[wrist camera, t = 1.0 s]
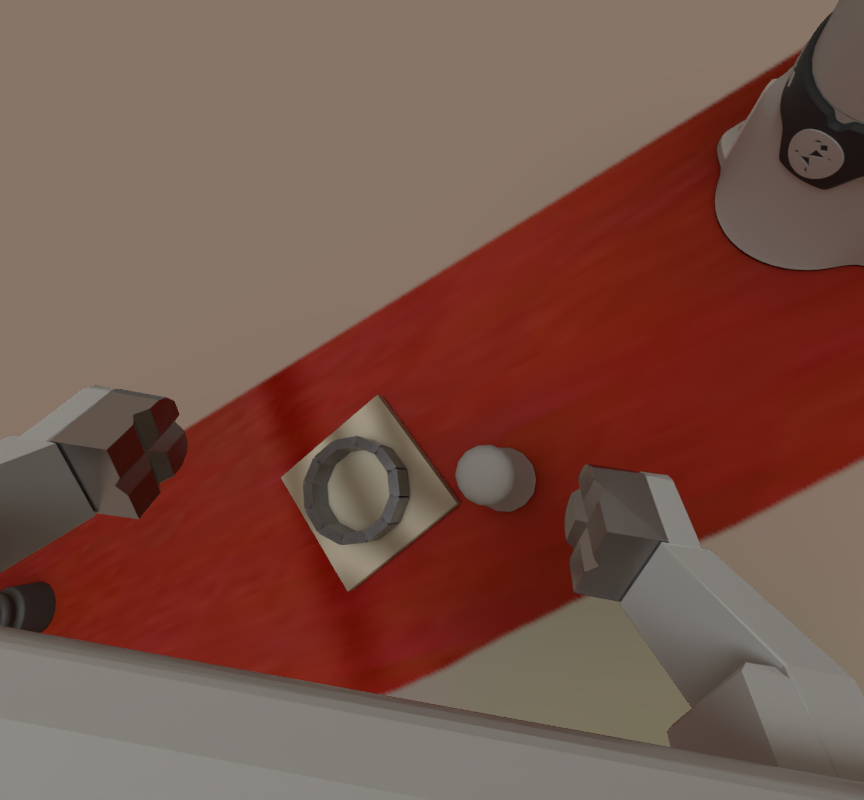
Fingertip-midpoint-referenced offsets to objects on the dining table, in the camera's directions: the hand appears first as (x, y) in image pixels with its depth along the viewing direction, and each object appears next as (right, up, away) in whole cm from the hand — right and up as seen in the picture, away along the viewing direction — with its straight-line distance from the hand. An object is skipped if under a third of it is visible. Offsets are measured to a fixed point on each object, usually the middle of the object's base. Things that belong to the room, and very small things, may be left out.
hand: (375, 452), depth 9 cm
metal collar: (-6, -8, +36) cm, 38 cm away
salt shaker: (+8, -7, +34) cm, 36 cm away
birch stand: (-5, -8, +38) cm, 39 cm away
